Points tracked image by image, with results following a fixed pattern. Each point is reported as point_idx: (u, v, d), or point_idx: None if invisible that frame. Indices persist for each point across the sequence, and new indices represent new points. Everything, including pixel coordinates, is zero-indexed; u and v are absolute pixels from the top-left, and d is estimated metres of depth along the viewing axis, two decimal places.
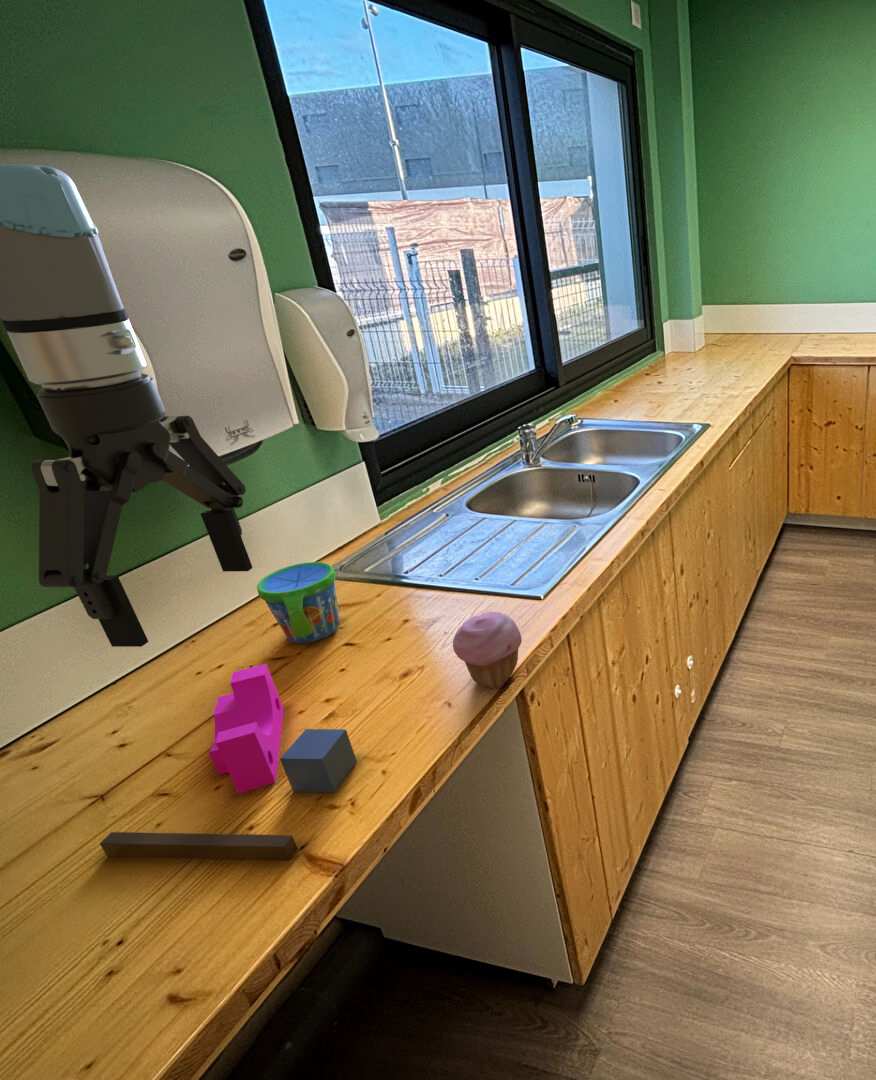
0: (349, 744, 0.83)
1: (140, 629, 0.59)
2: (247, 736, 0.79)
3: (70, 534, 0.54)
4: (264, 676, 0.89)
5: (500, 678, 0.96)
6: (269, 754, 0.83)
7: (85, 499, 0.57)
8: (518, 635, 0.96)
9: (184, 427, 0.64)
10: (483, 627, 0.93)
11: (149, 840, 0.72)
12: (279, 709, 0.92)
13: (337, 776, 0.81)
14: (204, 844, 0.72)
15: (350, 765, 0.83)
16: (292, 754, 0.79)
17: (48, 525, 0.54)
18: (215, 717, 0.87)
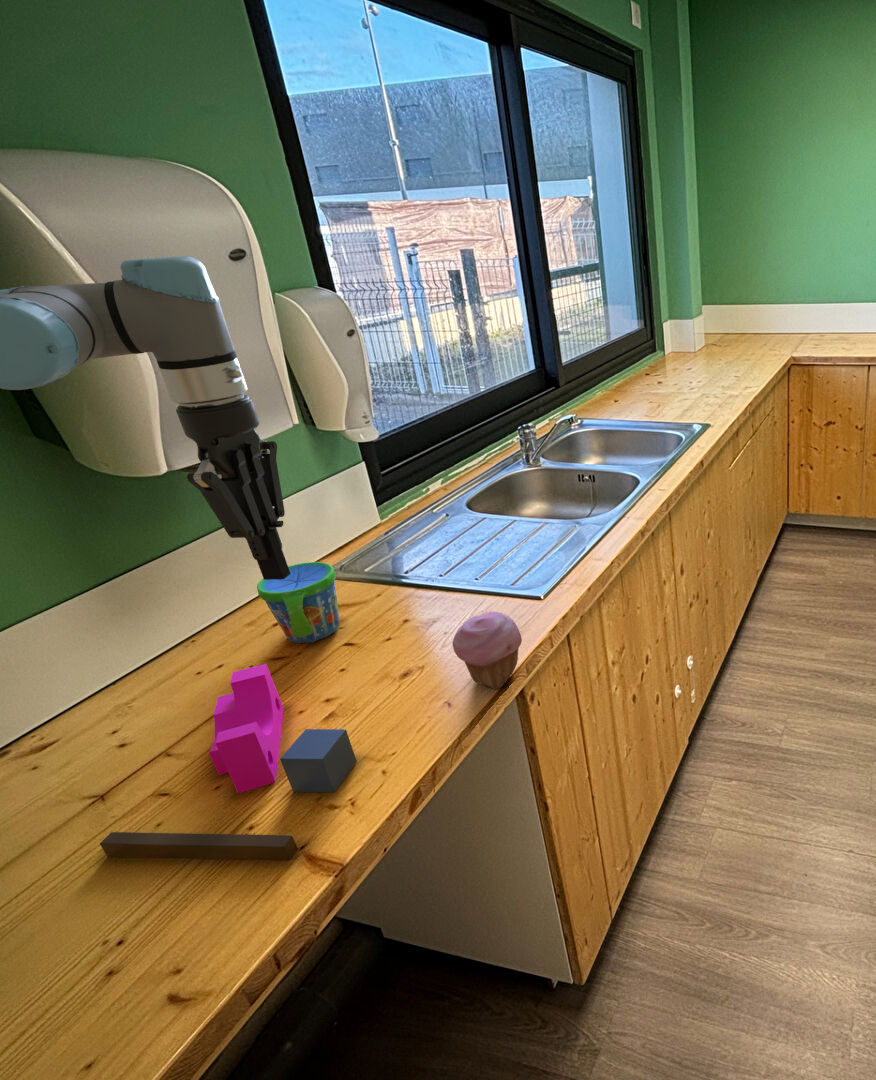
0: (349, 744, 0.83)
1: (282, 568, 0.91)
2: (247, 736, 0.79)
3: (234, 512, 0.83)
4: (264, 676, 0.89)
5: (500, 678, 0.96)
6: (269, 754, 0.83)
7: None
8: (518, 635, 0.96)
9: (270, 446, 0.89)
10: (483, 627, 0.93)
11: (149, 840, 0.72)
12: (279, 709, 0.92)
13: (337, 776, 0.81)
14: (204, 844, 0.72)
15: (350, 765, 0.83)
16: (292, 754, 0.79)
17: (217, 508, 0.82)
18: (215, 717, 0.87)
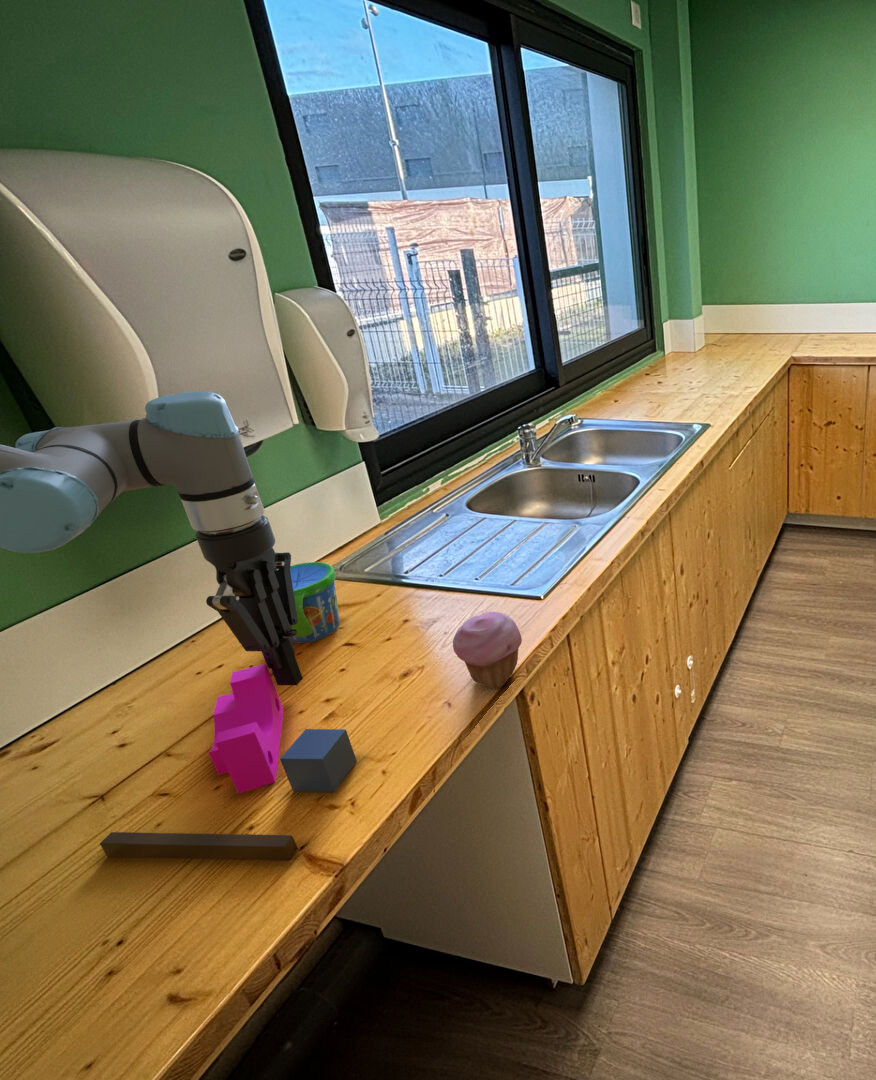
0: (349, 744, 0.83)
1: (296, 674, 0.93)
2: (247, 736, 0.79)
3: (250, 630, 0.86)
4: (264, 676, 0.89)
5: (500, 678, 0.96)
6: (269, 754, 0.83)
7: (241, 603, 0.87)
8: (518, 635, 0.96)
9: (284, 558, 0.92)
10: (483, 627, 0.93)
11: (149, 840, 0.72)
12: (279, 709, 0.92)
13: (337, 776, 0.81)
14: (204, 844, 0.72)
15: (350, 765, 0.83)
16: (292, 754, 0.79)
17: (234, 627, 0.85)
18: (215, 717, 0.87)
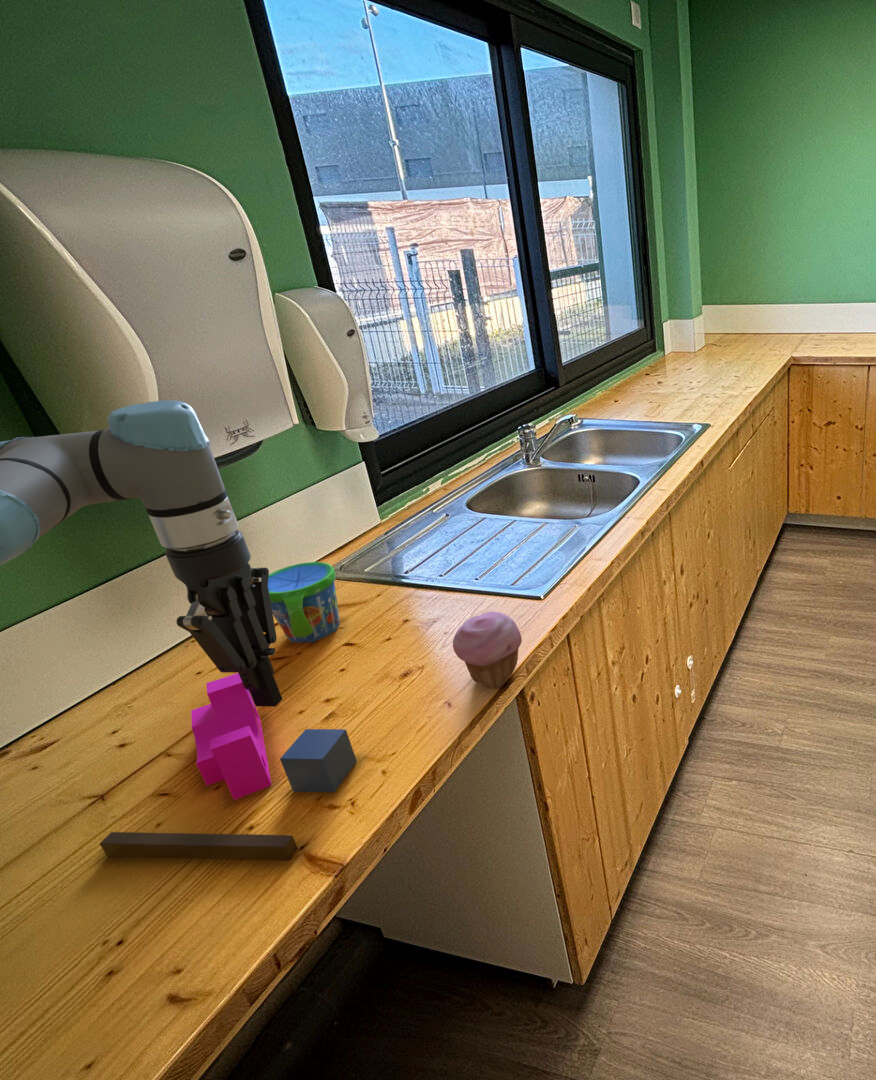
0: (349, 744, 0.83)
1: (275, 695, 0.89)
2: (243, 739, 0.78)
3: (225, 650, 0.81)
4: (242, 684, 0.88)
5: (500, 678, 0.96)
6: (261, 758, 0.83)
7: (215, 622, 0.83)
8: (518, 635, 0.96)
9: (261, 574, 0.88)
10: (483, 627, 0.93)
11: (149, 840, 0.72)
12: (257, 717, 0.91)
13: (337, 776, 0.81)
14: (204, 844, 0.72)
15: (350, 765, 0.83)
16: (292, 754, 0.79)
17: (208, 647, 0.81)
18: (194, 729, 0.85)
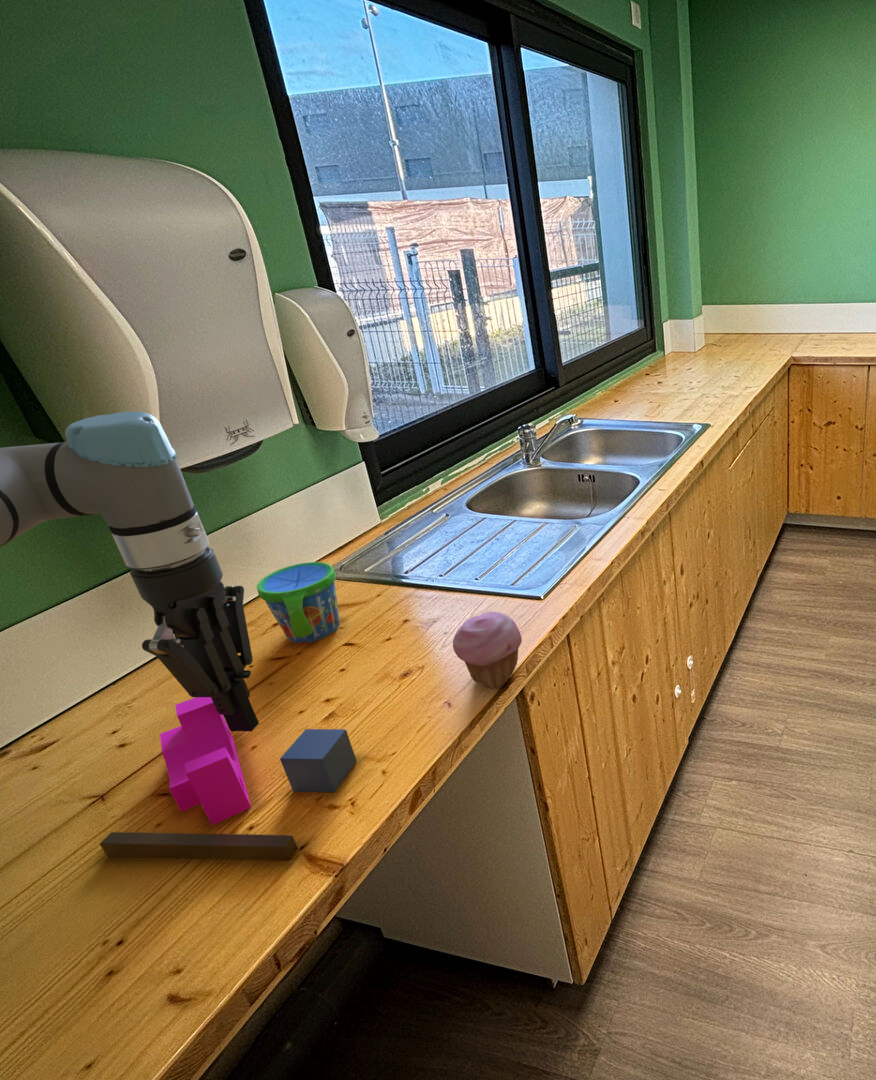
0: (349, 744, 0.83)
1: (250, 719, 0.85)
2: (220, 762, 0.75)
3: (195, 675, 0.77)
4: None
5: (500, 678, 0.96)
6: (239, 780, 0.79)
7: (185, 645, 0.78)
8: (518, 635, 0.96)
9: (236, 592, 0.83)
10: (483, 627, 0.93)
11: (149, 840, 0.72)
12: (230, 738, 0.87)
13: (337, 776, 0.81)
14: (204, 844, 0.72)
15: (350, 765, 0.83)
16: (292, 754, 0.79)
17: (176, 672, 0.77)
18: (164, 754, 0.81)
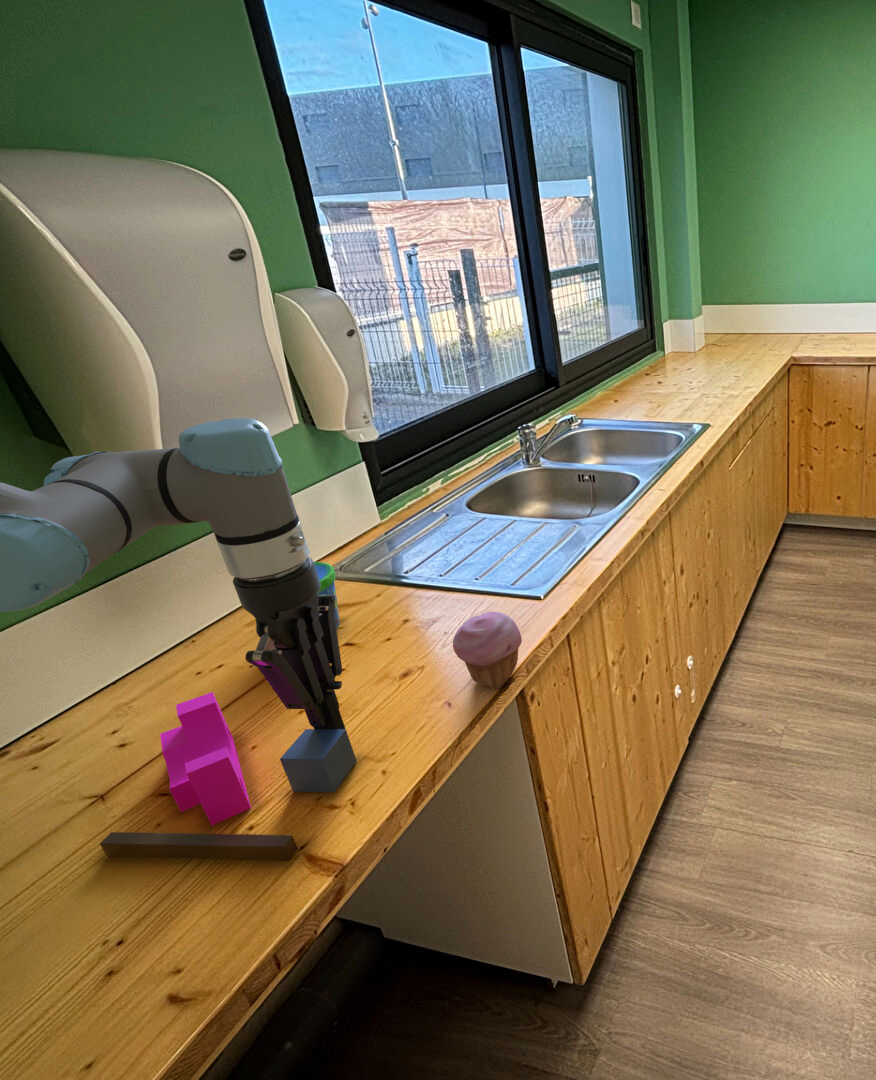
0: (349, 744, 0.83)
1: None
2: (220, 762, 0.75)
3: (294, 686, 0.75)
4: (215, 704, 0.84)
5: (500, 678, 0.96)
6: (239, 781, 0.79)
7: (282, 655, 0.77)
8: (518, 635, 0.96)
9: (328, 602, 0.82)
10: (483, 627, 0.93)
11: (149, 840, 0.72)
12: (231, 738, 0.87)
13: (337, 776, 0.81)
14: (204, 844, 0.72)
15: (350, 765, 0.83)
16: (292, 754, 0.79)
17: (276, 683, 0.75)
18: (164, 753, 0.81)
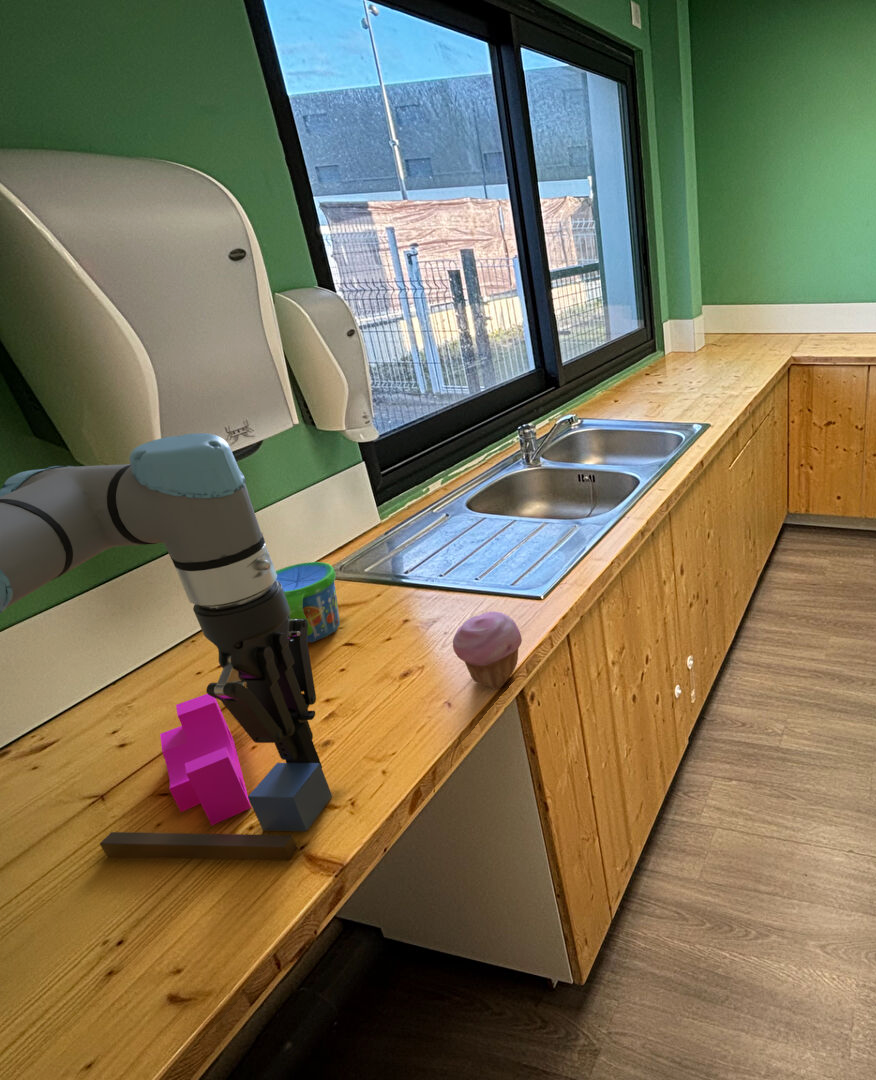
0: (324, 778, 0.78)
1: None
2: (220, 762, 0.75)
3: (260, 720, 0.70)
4: (215, 704, 0.84)
5: (500, 678, 0.96)
6: (239, 781, 0.79)
7: (249, 686, 0.72)
8: (518, 635, 0.96)
9: (300, 626, 0.77)
10: (483, 627, 0.93)
11: (149, 840, 0.72)
12: (231, 738, 0.87)
13: (310, 814, 0.76)
14: (204, 844, 0.72)
15: (324, 801, 0.78)
16: (261, 791, 0.74)
17: (241, 717, 0.70)
18: (164, 753, 0.81)
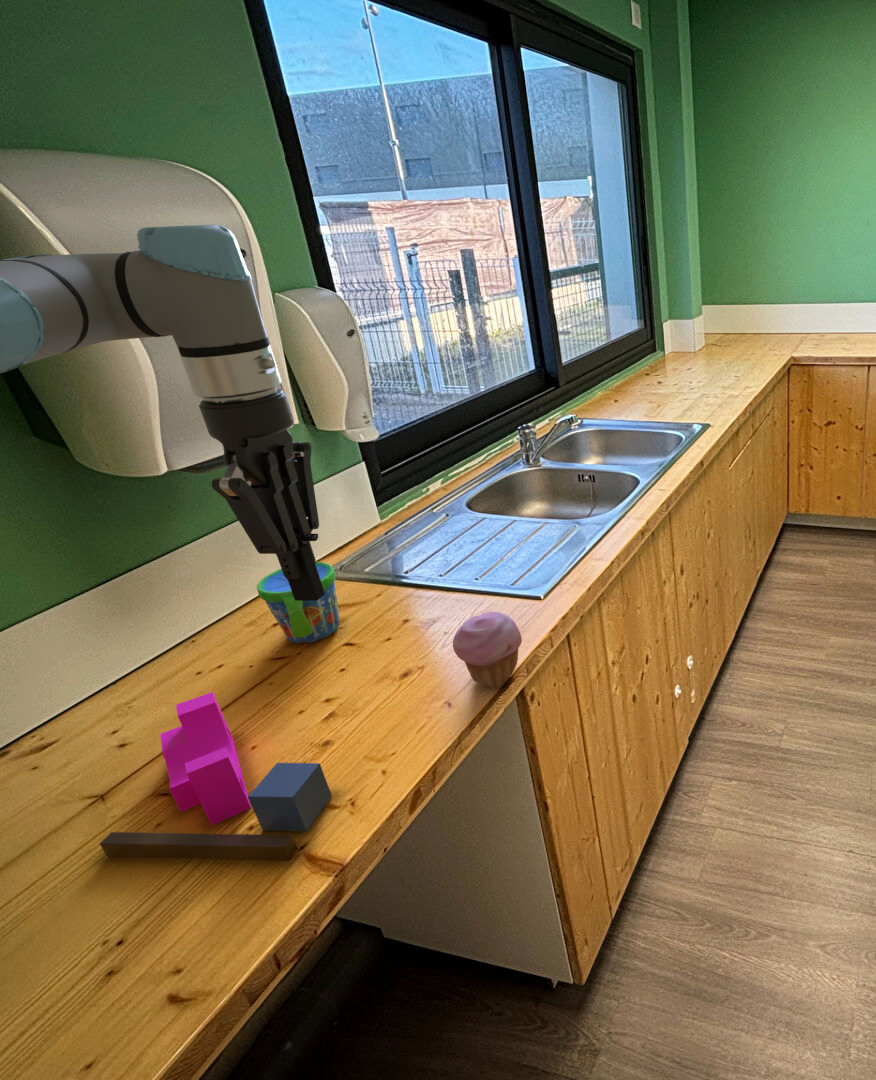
0: (324, 778, 0.78)
1: (317, 587, 0.79)
2: (220, 762, 0.75)
3: (265, 524, 0.71)
4: (215, 704, 0.84)
5: (500, 678, 0.96)
6: (239, 781, 0.79)
7: None
8: (518, 635, 0.96)
9: (304, 448, 0.78)
10: (483, 627, 0.93)
11: (149, 840, 0.72)
12: (231, 738, 0.87)
13: (310, 814, 0.76)
14: (204, 844, 0.72)
15: (324, 801, 0.78)
16: (261, 791, 0.74)
17: (245, 520, 0.71)
18: (164, 753, 0.81)
